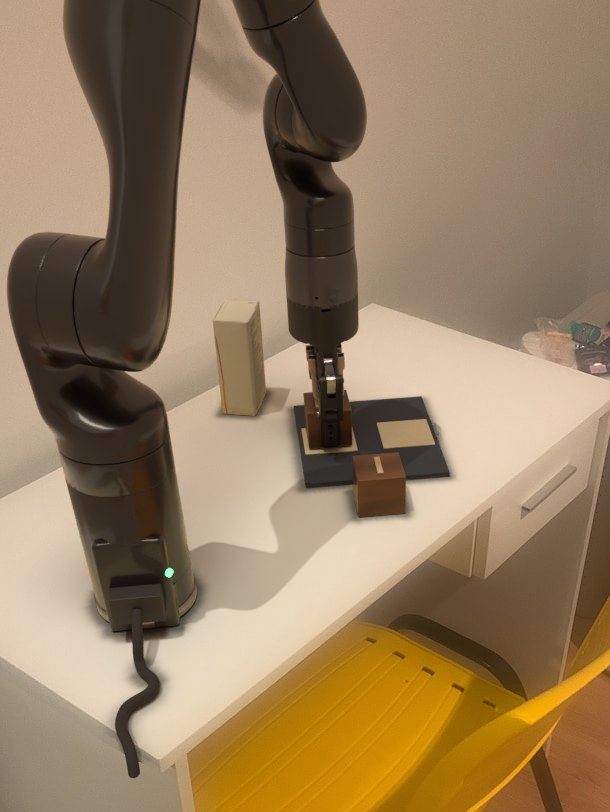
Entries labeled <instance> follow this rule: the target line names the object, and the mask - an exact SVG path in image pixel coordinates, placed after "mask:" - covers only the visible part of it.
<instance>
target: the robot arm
mask: <svg viewBox="0 0 610 812" xmlns="http://www.w3.org/2000/svg"><path fill="white" fill-rule="evenodd" d="M201 1H202V0H63V8H62V31H63V37H64V42H65V45H66V49H67V53H68V56H69V59H70V63H71V65H72V69H73V70H74V74H75V76H76V79H77V81H78V84H79V87H80V89H81V91H82V93H83V95H84V98H85V101H86V103H87V105H88V107H89V110H90V112H91V114H92V117H93V119H94V121H95V124H96V127H97V129H98V132H99V135H100V138H101V141H102V144H103V147H104V149H105V155H106V159H107V164H108V165H107V167H108V177H109V178H108V179H109V182H108V183H109V201H108V217H107V226H106V232H105V237H100V236H91V235H85V234H84V235H83V234H74V233H68V232H67V233H66V232H55V231H54V232H53V231H41V232H36V233H33V234H31V235H28V236H27V237H25V238H24V239H23V240H22V241H21V242H20V243H19V244H18V245H17V246H16V248H15V250H14V252H13V253H12V256H11V259H10V261H9V265H8V268H7V269H8V270H7V276H6V300H7V309H8V315H9V319H10V324H11V327H12V331H13V335H14V339H15V341H16V345H17V348H18V349H17V350H18V352H19V355H20V358H21V361H22V364H23V367H24V370H25V372H26V376H27V378H28V379H27V380H28V382H29V385H30V389H31V391H32V395H33V398H34V402H35V405H36V407H37V410H38V412H39V415H40V417H41V420H43V422H44V424H45V425H46V426H47V427H48V429H49V430H50V431H51V433H52V434H53V436H54V440H55V443H56V447H57V451H58V456H59V460H60V463H61V468H62V471H63V475H64V480H65V484H66V487H67V491H68V496H69V499H70V503H71V507H72V511H73V515H74V519H75V523H76V526H77V531H78V534H79V538H80V542H81V547H82V551H83V555H84V559H85V562H86V567H87V570H88V574H89V577H90V580H91V584H92V585H91V586H92V588H93V592H94V601H95V605H96V609H97V611H98V614H99V615H100V616H101V617H102V619H104V620H105V621H106V622H108V623H109V627H110V631H112V632H119V631H129V630H131V641H132V643H131V644H132V659H133V665H134V667H135V670H136V672H137V674H138V676H140V677H141V678H142V679H143V680H144V681H146V682H147V684H148V685H147V686H146V687H145V689H143V690H141V691H140V692H138V693H136V694H135V695H133V696H131V697H129V698H127V700H125V701H124V702H123V703H122V704H121V705H120V707H118V710H117V713H116V716H115V719H114V729H115V733H116V735H117V737H118V739H119V742H120V744H121V747H122V749H123V753H124V758H125V763H126V769H127V775H128V777H129V778H130V779H136V778H139V776H140V774H141V767H140V761H139V757H138V752H137V748H136V745H135V742H134V740H133V738H132V735H131V733H130V731H129V728H128V718H129V715H130V713H131V712H133V710H135V709H136V708H137V707H139V706H141V705H143V704H145V703H146V702H148V701H150V700H151V699H152V698H153V697H154V696H155V695H156V694H157V693H158V691H159V689H160V684H161V683H160V679H159V677H158V675H157V674H156V673H155V672H154V671H152V670H151V669H150V668H149V667H148V666H147V664H146V661H145V652H144V631H143V629H151V628H152V629H153V628H163V627H173V626H179V624H180V619H181V617H182V616H183V615H185V614H186V613H187V612H188V611H189V610H190V609H191V608H192V606H193V605H194V603H195V602H196V599H197V594H198V588H197V582H196V578H195V576H194V572H193V565H192V558H191V553H190V549H189V548H190V547H189V542H188V535H187V529H186V524H185V518H184V513H183V505H182V501H181V500H182V499H181V494H180V489H179V488H180V487H179V483H178V475H177V470H176V465H175V457H174V451H173V445H172V439H171V438H172V437H171V433H170V424H169V418H168V413H167V408H166V405H165V403H164V401H163V399H162V398H161V396H160V394H158V392H156V391H155V390H154V389H153V388H151V387H150V386H149V385H146V384H145V383H143V382H141V381H140V380H138V379H137V378H135V377H134V376H132V375H130V374H129V373H139V372H143V371H145V370H147V369H148V368H150V367H151V366H152V365H153V364H154V363H155V362H156V361H157V359H158V358H159V357H160V354H161V352H162V350H163V348H164V345H165V342H166V339H167V336H168V331H169V326H170V322H171V316H172V309H173V298H174V297H173V296H174V280H175V264H176V263H175V262H176V239H177V218H178V217H177V216H178V194H179V193H178V192H179V177H180V163H181V156H182V155H181V154H182V145H183V135H184V127H185V117H186V109H187V102H188V94H189V86H190V79H191V73H192V66H193V61H194V54H195V48H196V41H197V36H198V35H197V34H198V27H199V18H200V12H201V3H202V2H201ZM231 2H232V5H233V8H234V10H235V13H236V16H237V19H238V20H239V24H240V25H241V29H242V32H243V33H244V37H245V39H246V41H247V44H248V45H249V47H250V48H251V50H252V51H253V53H254V54H255V55H256V56H257V57H258V58H259V59H261V60H262V61H264V62H265V63H267V65H269V66H270V67H271V68H272V69H273V70H274V71H275V74H274V76H273V77H272V78H271V80H270V82H269V83H268V85H267V88H266V91H265V94H264V99H263V104H262V126H263V132H264V140H265V145H266V148H267V153H268V156H269V160H270V164H271V167H272V170H273V174H274V178H275V182H276V185H277V187H278V190H279V194H280V197H281V200H282V207H283V209H282V211H283V226H284V242H285V256H284V257H285V258H284V280H285V294H286V309H287V311H286V312H287V323H288V324H287V325H288V332H289V335H290V336H291V337H292V338H293V339H294V340H296V341H298V342H299V343H302V344H305V357H306V362H307V369H308V376H309V377H308V378H309V380H311V390H312V391H311V392H312V393H313V396H314V397H315V398H316V399H318V412H317V414H318V416H319V420H320V437H321V446H322V447H323V448H334V447H339V446H340V444H341V441H340V421H343V417H344V413H343V395H344V390H345V378H344V370H345V367H346V362H345V361H346V360H345V353H344V352H343V345H342V344H343V343H344V342H347V341H350V340H351V339H352V338H354V337H355V336H356V335H357V333H358V331H359V326H360V325H359V277H358V276H359V275H358V274H359V273H358V260H357V253H356V243H355V241H356V240H355V237H356V236H355V205H354V198H353V193H352V190H351V189H350V187H349V186H348V185H347V184H346V182H344V181H343V180H342V179H341V178H340V177H339V176H338V174H337V173H336V172H335V169H334V167H333V163H340V162H344V161H345V160H348V159H349V158H351V157H352V156H353V155H354V154H355V153H356V152H357V150H359V148H360V146H361V145H362V143H363V141H364V138H365V135H366V130H367V123H368V115H367V114H368V112H367V111H368V110H367V103H366V98H365V93H364V90H363V87H362V85H361V82H360V79H359V77H358V75H357V73H356V70H355V69H354V67H353V65H352V62H351V61H350V60H349V57H348V55H347V53H346V52H345V49H344V48H343V45H342V43H341V41H340V40H339V38H338V36H337V34H336V33H335V31H334V29H333V28H332V26H331V24H330V22H329V21H328V19H327V17H326V15H325V13H324V11H323V9H322V6H321V1H320V0H231ZM328 406H336V407H331V408H325V407H328Z"/></svg>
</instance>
